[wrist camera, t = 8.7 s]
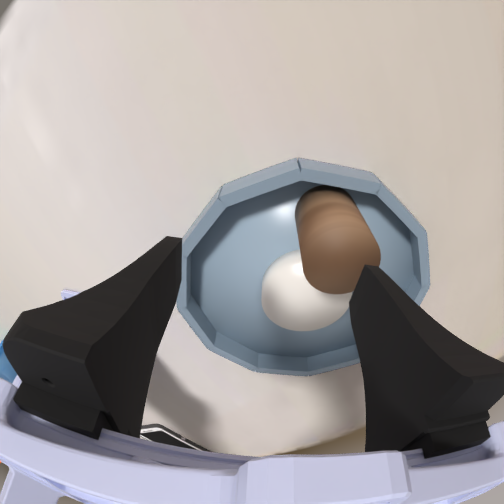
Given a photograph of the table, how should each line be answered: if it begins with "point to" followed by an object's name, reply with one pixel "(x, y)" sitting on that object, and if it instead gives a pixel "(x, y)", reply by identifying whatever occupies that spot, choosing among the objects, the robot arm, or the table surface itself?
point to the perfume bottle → (6, 367)
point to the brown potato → (333, 239)
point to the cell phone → (167, 437)
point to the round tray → (286, 269)
